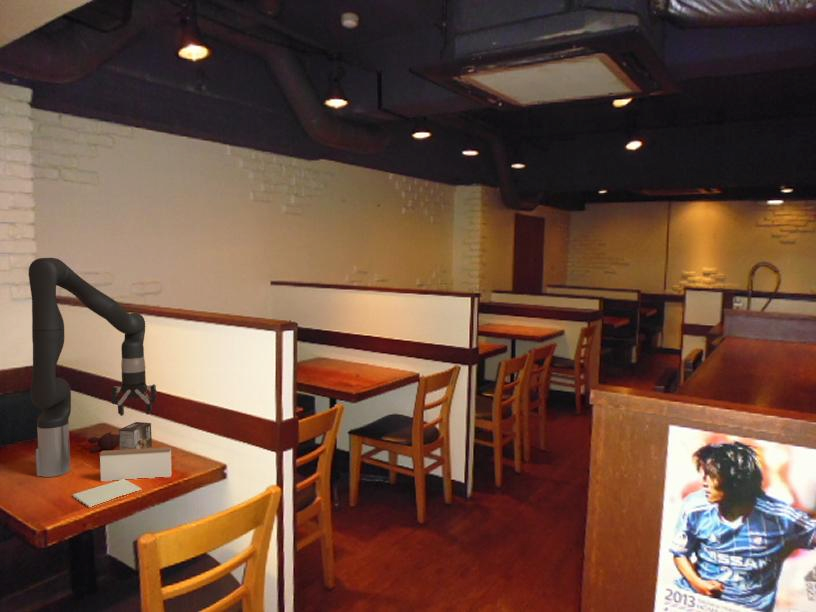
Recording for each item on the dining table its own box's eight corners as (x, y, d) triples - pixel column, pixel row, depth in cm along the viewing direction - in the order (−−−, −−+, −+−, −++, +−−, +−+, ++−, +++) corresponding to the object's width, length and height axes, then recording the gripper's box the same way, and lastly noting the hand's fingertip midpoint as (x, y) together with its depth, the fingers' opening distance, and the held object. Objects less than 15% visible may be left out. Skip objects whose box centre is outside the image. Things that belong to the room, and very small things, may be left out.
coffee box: (137, 463, 203) (136, 421, 201) (153, 465, 202) (151, 422, 200) (119, 473, 194) (118, 428, 192) (135, 475, 193) (134, 430, 191)
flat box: (100, 482, 186) (99, 453, 186) (103, 479, 189) (101, 450, 188) (170, 477, 191) (169, 449, 190) (171, 474, 194) (170, 446, 193)
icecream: (128, 427, 225) (86, 436, 216) (130, 427, 219) (87, 437, 210) (131, 444, 224) (89, 454, 216) (133, 444, 218) (90, 455, 210)
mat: (89, 508, 168) (88, 505, 168) (72, 496, 175) (72, 494, 175) (141, 490, 180) (141, 488, 180) (124, 481, 188) (124, 478, 187)
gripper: (108, 372, 189) (110, 418, 191) (152, 371, 192) (154, 416, 194) (114, 368, 196) (116, 412, 198) (157, 366, 200) (159, 410, 201)
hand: (135, 414), depth 196 cm, fingers open, 8 cm apart
